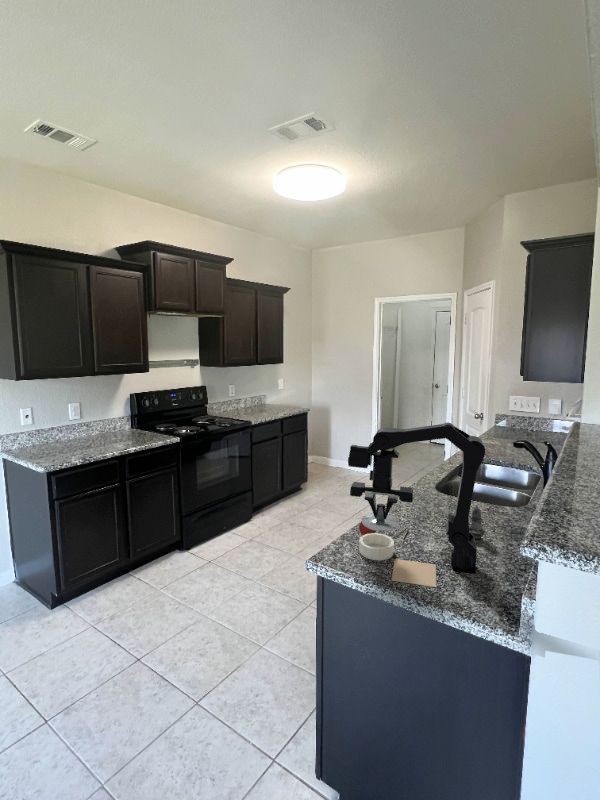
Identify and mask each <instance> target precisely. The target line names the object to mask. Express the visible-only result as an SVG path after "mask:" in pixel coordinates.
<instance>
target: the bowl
mask: <svg viewBox="0 0 600 800" xmlns="http://www.w3.org/2000/svg"><path fill="white" fill-rule="evenodd" d="M391 537H392V536H389V535H386V534H383V533H377V532H376V533H371V534H365V535H361V536H360V538H359V542H358V544H359V545H358V548H359V549H358V551H359V553H360V555H361V556H363V557H364V558H366V559H367V560H368V559H369V560H372V561H386V560H389V559H391V558H392V557H393V556H394V551H395V541H394V539H392V538H391Z"/></svg>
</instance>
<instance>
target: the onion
mask: <svg viewBox="0 0 600 800" xmlns="http://www.w3.org/2000/svg"><path fill="white" fill-rule="evenodd" d="M358 529H359V530H358V531H359V533H360V534H361V536H363V535H365V534H371V533H377V531H375V530H371V529H369V528H367V527H365V526H364V525H363V524H362V520H361V521H360V523H359V526H358Z"/></svg>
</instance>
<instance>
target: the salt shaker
mask: <svg viewBox="0 0 600 800" xmlns="http://www.w3.org/2000/svg"><path fill="white" fill-rule="evenodd" d="M470 521H471V523H470V524H469V532H470V533H471V534H472V535H473V536H474V537H475V543H476V544H482V543H483V542H484V539H483V536H484V534H485V532H486V530H485V528H483V527H482V525H481V524H482V523H481V522H482V521H483V518H482V510H481V509H480V508H479V506H478V505H476V506H475V507H474V508H472V509H471V516H470Z"/></svg>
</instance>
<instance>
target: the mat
mask: <svg viewBox="0 0 600 800" xmlns="http://www.w3.org/2000/svg"><path fill="white" fill-rule="evenodd" d="M392 569H393V570H392V575H391V581H393V582H399V583H406V584H411V585H412V584H414V585H419V586H425V587H431V588H432V587H433V588H437V565H436V564H433V563H428V562H427V563H426V562H419V561H412V560H404V559H399V558H394V562H393V568H392Z"/></svg>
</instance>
